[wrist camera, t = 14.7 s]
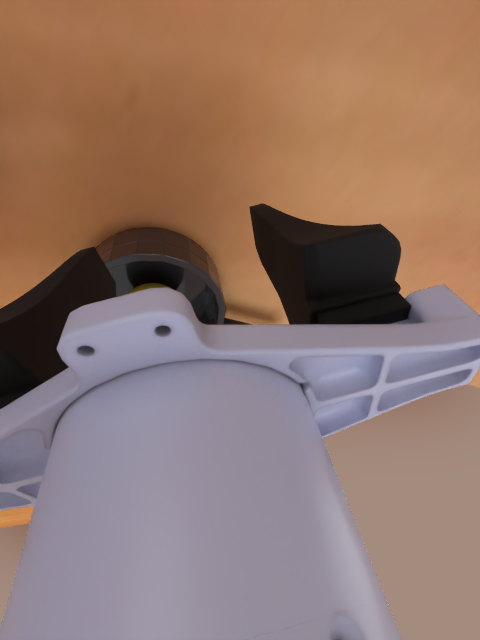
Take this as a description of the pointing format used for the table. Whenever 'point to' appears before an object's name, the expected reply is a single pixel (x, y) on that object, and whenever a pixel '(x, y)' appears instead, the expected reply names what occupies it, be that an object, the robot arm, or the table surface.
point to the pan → (165, 268)
